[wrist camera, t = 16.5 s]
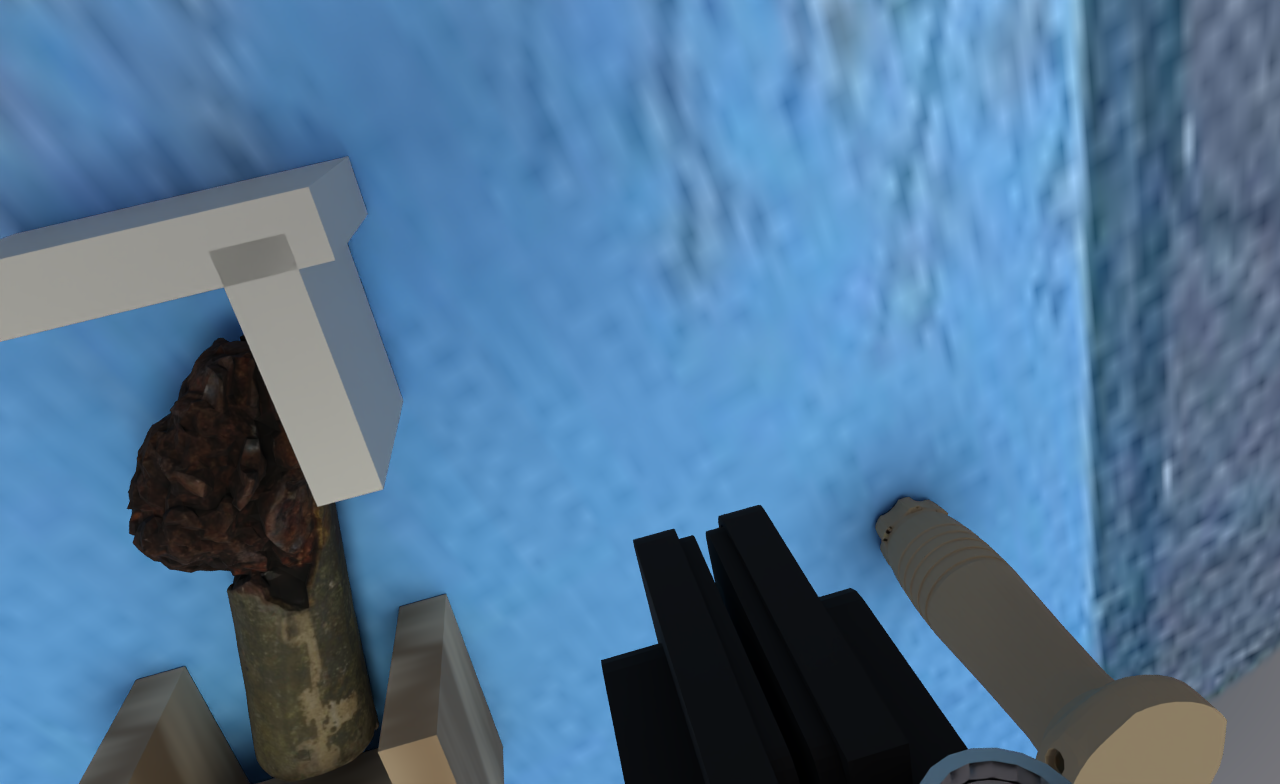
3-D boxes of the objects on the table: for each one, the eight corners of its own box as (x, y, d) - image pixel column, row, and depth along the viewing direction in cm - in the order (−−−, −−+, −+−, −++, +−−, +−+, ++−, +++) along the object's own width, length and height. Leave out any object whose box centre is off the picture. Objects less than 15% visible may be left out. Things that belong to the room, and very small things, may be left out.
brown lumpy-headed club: (384, 694, 37) (367, 799, 32) (223, 709, 36) (178, 820, 31) (339, 313, 30) (307, 369, 25) (139, 318, 29) (64, 377, 24)
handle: (835, 577, 39) (1028, 865, 25) (881, 454, 36) (1120, 696, 23) (925, 587, 40) (1158, 868, 26) (975, 469, 38) (1256, 707, 24)
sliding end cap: (136, 469, 31) (46, 578, 24) (14, 234, 27) (-130, 289, 21) (429, 394, 32) (415, 480, 25) (348, 156, 28) (308, 186, 22)
